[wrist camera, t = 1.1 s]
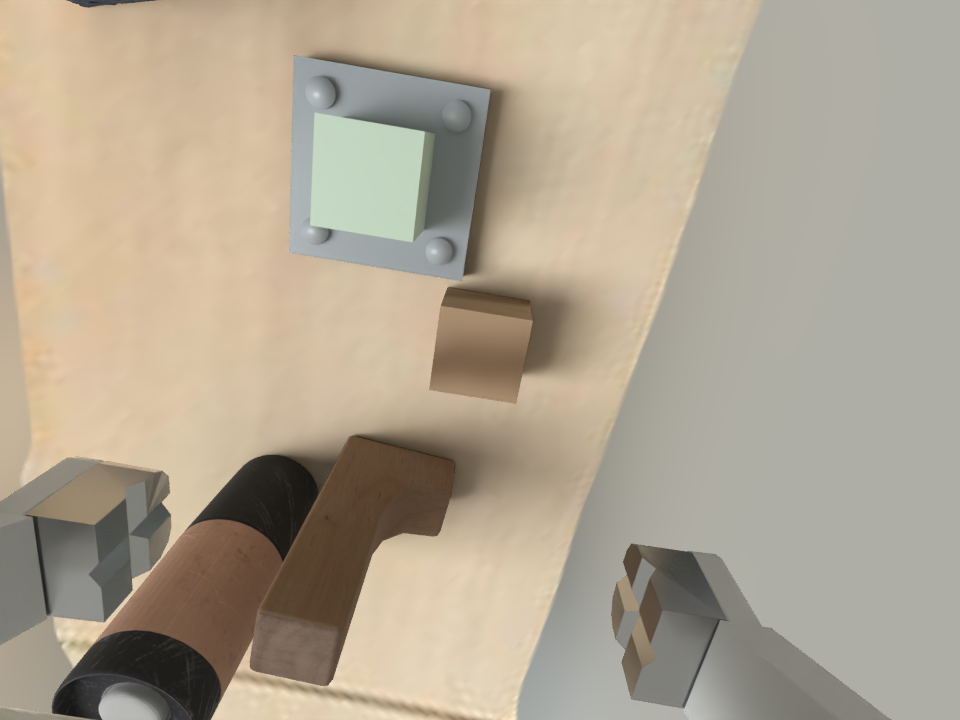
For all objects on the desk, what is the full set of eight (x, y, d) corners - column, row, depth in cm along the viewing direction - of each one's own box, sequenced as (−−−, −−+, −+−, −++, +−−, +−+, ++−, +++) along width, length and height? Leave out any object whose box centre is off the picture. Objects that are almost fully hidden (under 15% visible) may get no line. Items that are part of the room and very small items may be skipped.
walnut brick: (447, 287, 39) (440, 305, 34) (529, 300, 39) (533, 320, 34) (437, 362, 41) (429, 389, 36) (514, 374, 41) (515, 403, 36)
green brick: (340, 117, 33) (314, 112, 29) (435, 134, 33) (424, 131, 29) (334, 215, 35) (309, 225, 31) (424, 230, 36) (412, 242, 31)
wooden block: (456, 459, 44) (430, 650, 27) (444, 503, 45) (411, 709, 29) (349, 432, 43) (254, 611, 27) (340, 478, 45) (245, 673, 28)
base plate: (302, 59, 33) (291, 54, 32) (490, 92, 34) (490, 88, 32) (296, 248, 38) (286, 253, 36) (463, 276, 38) (461, 282, 36)
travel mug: (312, 449, 44) (175, 669, 25) (329, 525, 47) (216, 773, 28) (223, 453, 44) (24, 672, 26) (244, 528, 47) (78, 774, 29)
